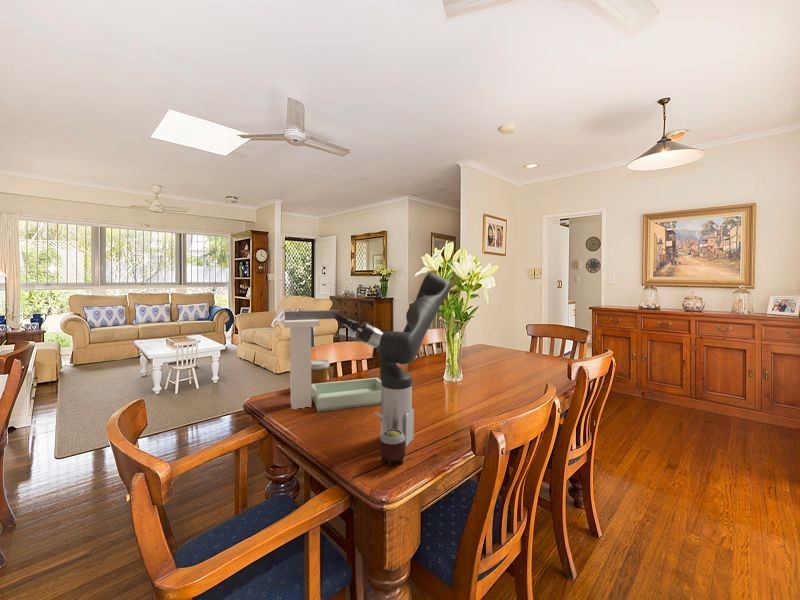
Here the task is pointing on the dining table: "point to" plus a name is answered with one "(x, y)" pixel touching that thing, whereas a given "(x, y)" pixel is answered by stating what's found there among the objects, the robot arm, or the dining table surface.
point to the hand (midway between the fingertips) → (335, 315)
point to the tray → (346, 394)
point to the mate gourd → (392, 445)
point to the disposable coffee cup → (319, 371)
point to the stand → (300, 361)
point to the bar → (311, 314)
